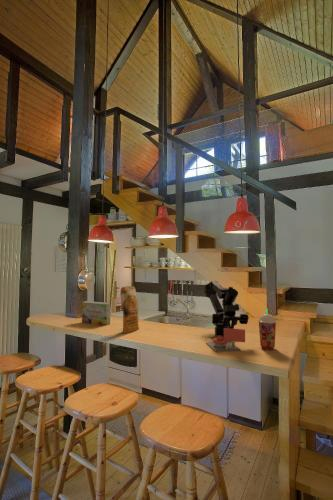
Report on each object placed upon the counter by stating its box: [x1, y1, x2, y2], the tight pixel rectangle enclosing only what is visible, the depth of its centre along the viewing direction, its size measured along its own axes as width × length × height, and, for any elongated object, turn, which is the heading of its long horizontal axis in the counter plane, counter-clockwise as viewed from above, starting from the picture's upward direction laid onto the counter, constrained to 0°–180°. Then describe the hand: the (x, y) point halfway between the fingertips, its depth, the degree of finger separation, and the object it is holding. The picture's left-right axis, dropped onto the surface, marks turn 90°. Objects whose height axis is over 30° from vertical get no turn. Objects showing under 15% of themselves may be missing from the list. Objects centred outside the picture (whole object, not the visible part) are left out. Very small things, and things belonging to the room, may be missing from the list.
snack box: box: [81, 300, 111, 326], centre depth 196 cm, size 21×6×15 cm, turn 67°
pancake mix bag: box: [120, 285, 140, 334], centre depth 175 cm, size 7×19×28 cm, turn 152°
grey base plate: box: [205, 341, 241, 352], centre depth 141 cm, size 13×14×3 cm
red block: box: [212, 328, 246, 344], centre depth 140 cm, size 16×7×7 cm, turn 76°
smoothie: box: [258, 308, 277, 351], centre depth 139 cm, size 8×8×20 cm
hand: (231, 332), depth 141 cm, fingers closed, pressing on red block
